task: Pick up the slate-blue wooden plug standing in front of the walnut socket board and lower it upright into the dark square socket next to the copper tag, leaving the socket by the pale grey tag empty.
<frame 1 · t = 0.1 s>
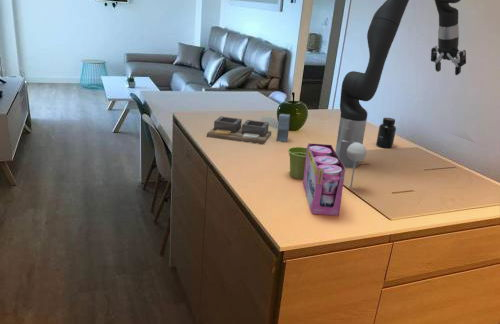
hand: (447, 72, 188), 31 cm above the countertop, tool tilted 20°, fingers open, 8 cm apart
socket board: (239, 135, 189), on the countertop
supplement bottle: (384, 146, 190), on the countertop
lollipop: (350, 188, 143), on the countertop
plant pot: (299, 176, 149), on the countertop
gum box: (319, 199, 133), on the countertop
plug: (282, 140, 187), on the countertop
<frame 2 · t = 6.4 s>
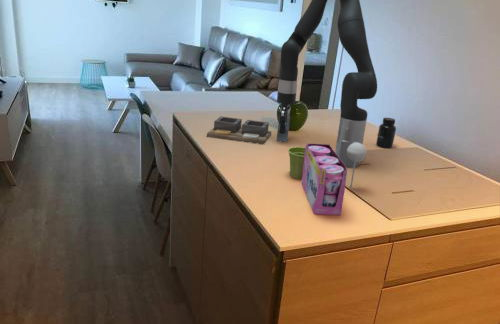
hand: (283, 131, 186), 4 cm above the countertop, tool pointing down, fingers closed on plug, 4 cm apart
plug: (282, 140, 187), on the countertop, touching gripper
everything else where it was.
when the fingers open (6 cm above the countertop, at t = 12.0 s): plug stays where it is, resting on socket board.
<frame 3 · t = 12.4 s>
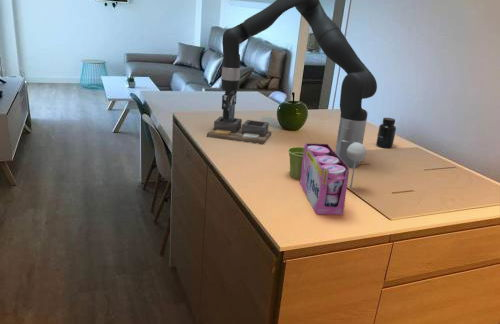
hand: (228, 116, 190), 7 cm above the countertop, tool pointing down, fingers open, 7 cm apart
plug: (227, 129, 192), point 1 cm above the countertop, touching socket board
everything else where it was.
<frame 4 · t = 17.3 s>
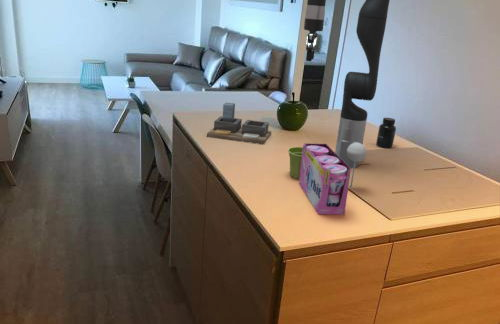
hand: (309, 60, 181), 33 cm above the countertop, tool pointing down, fingers open, 8 cm apart
at the end: plug 0.0 cm from the target spot on the socket board, point 1.5 cm above the socket board's base; plug tilted 0°; the gripper is holding nothing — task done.
